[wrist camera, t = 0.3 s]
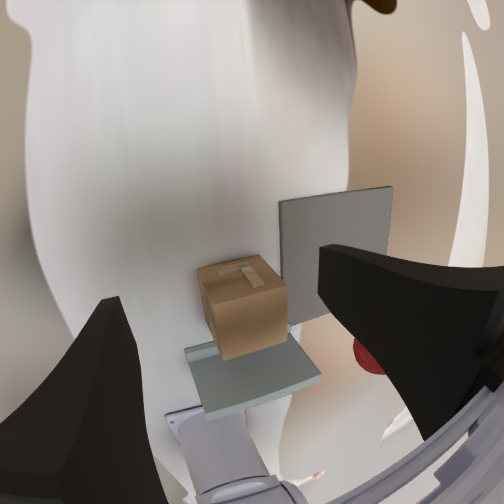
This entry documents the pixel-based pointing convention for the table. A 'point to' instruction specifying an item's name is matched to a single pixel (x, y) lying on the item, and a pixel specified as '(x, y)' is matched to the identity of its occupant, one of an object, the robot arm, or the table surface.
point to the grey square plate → (327, 239)
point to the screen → (249, 376)
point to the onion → (366, 359)
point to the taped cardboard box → (244, 305)
